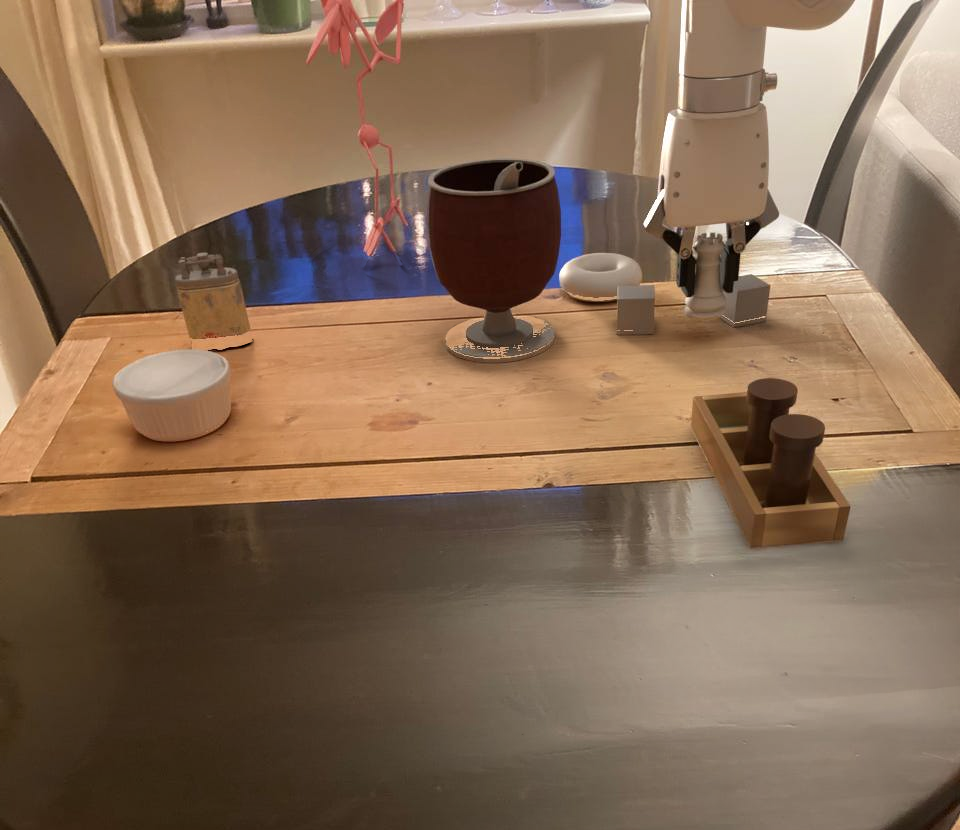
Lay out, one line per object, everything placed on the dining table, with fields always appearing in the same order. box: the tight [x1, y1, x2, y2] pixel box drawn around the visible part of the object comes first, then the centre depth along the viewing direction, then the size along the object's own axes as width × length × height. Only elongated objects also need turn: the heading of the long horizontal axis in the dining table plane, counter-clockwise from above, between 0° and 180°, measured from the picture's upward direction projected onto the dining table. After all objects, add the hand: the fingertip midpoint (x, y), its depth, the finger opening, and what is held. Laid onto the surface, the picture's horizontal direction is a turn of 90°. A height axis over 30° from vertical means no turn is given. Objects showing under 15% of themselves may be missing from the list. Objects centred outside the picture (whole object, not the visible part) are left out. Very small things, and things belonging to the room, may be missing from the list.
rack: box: [690, 391, 851, 549], centre depth 79 cm, size 7×20×4 cm, turn 3°
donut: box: [558, 252, 643, 303], centre depth 115 cm, size 10×4×10 cm
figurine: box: [305, 0, 409, 257], centre depth 121 cm, size 15×26×35 cm, turn 170°
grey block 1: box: [616, 284, 656, 336], centre depth 105 cm, size 4×4×4 cm
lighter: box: [174, 252, 251, 339], centre depth 107 cm, size 7×4×10 cm, turn 99°
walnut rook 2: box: [761, 413, 826, 508], centre depth 72 cm, size 4×4×8 cm
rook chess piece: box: [683, 232, 727, 322], centre depth 99 cm, size 4×4×8 cm
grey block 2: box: [719, 273, 771, 328], centre depth 106 cm, size 4×4×4 cm
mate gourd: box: [425, 157, 562, 364], centre depth 99 cm, size 16×14×20 cm
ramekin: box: [112, 348, 232, 443], centre depth 94 cm, size 11×11×5 cm
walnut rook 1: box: [739, 377, 799, 466], centre depth 77 cm, size 4×4×8 cm
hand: (706, 289), depth 100 cm, fingers closed on rook chess piece, 3 cm apart
